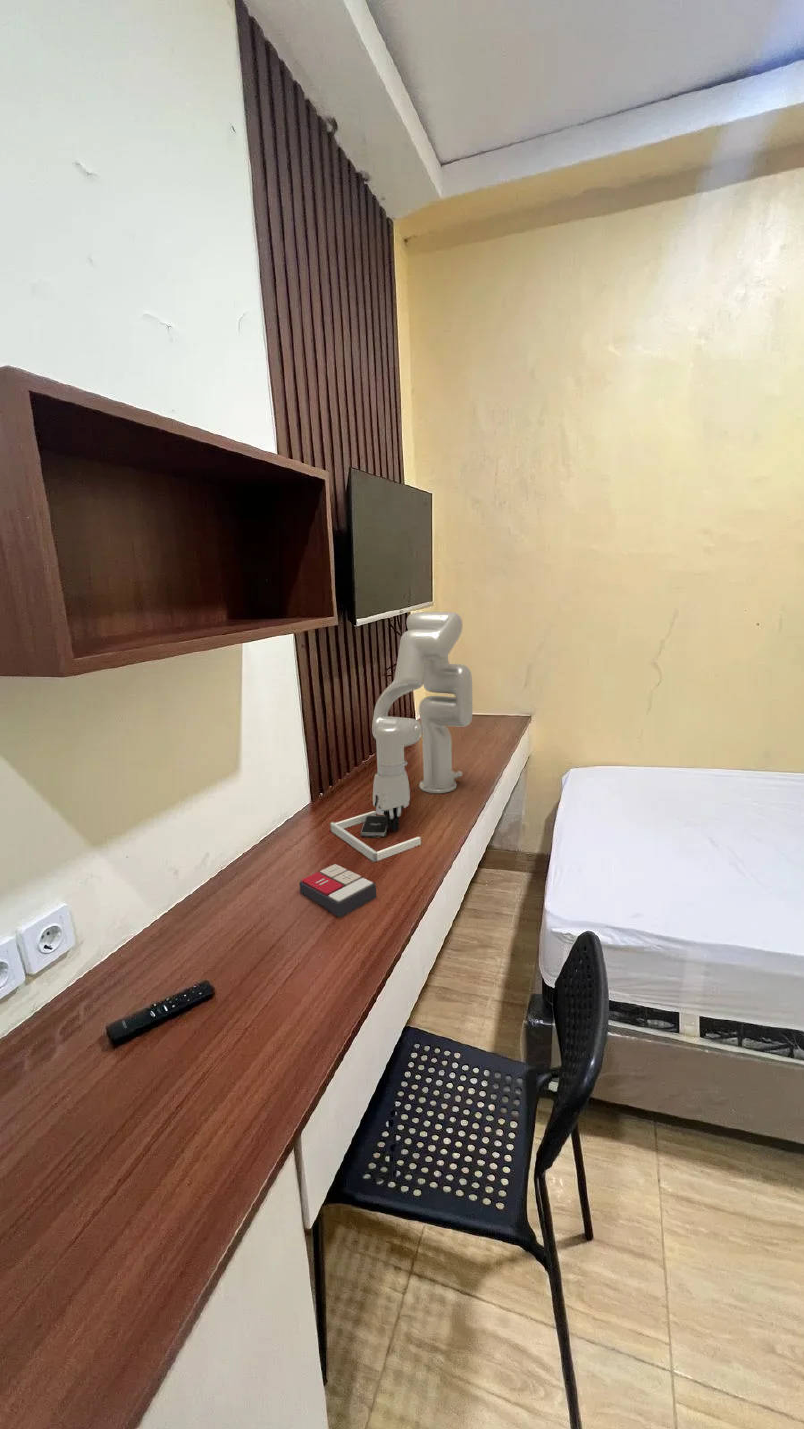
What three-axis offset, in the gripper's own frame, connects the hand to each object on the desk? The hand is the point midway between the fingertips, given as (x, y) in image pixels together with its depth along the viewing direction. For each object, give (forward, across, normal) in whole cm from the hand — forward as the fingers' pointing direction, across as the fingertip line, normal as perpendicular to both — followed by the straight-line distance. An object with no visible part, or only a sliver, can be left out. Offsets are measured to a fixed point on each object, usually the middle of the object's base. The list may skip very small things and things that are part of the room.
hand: (393, 829), depth 161 cm
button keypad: (+1, +29, +19) cm, 34 cm away
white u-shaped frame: (+1, +6, 0) cm, 7 cm away
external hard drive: (+1, +3, -4) cm, 6 cm away
